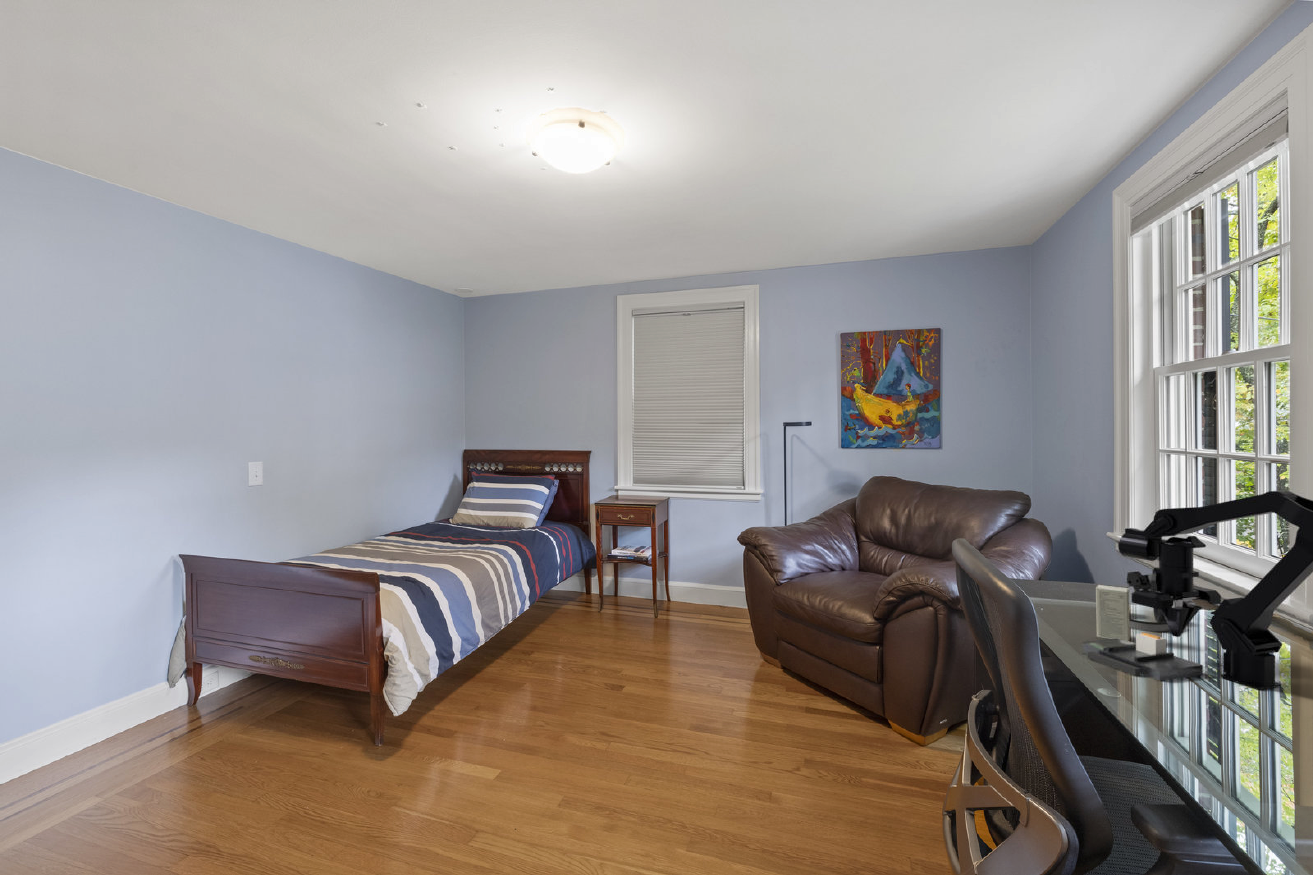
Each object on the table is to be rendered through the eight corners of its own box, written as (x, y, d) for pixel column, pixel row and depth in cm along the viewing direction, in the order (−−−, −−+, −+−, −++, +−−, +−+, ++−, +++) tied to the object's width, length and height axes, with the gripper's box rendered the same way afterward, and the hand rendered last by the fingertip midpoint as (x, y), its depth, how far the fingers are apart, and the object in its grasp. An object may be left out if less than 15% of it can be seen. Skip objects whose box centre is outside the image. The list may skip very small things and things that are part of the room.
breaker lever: (1166, 655, 126) (1166, 637, 126) (1155, 656, 125) (1155, 638, 125) (1146, 648, 130) (1146, 631, 130) (1135, 649, 129) (1136, 632, 129)
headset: (1171, 580, 159) (1176, 605, 144) (1171, 614, 160) (1176, 642, 145) (1108, 573, 168) (1107, 595, 152) (1108, 605, 169) (1107, 631, 153)
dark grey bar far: (1122, 646, 137) (1122, 640, 137) (1089, 650, 134) (1089, 644, 134) (1116, 644, 138) (1116, 638, 138) (1083, 648, 136) (1083, 642, 136)
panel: (1202, 674, 120) (1202, 661, 120) (1159, 680, 117) (1159, 666, 117) (1122, 647, 136) (1122, 635, 136) (1082, 652, 133) (1082, 640, 133)
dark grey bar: (1140, 675, 120) (1140, 668, 120) (1135, 676, 120) (1135, 669, 120) (1092, 657, 130) (1092, 651, 130) (1087, 658, 129) (1087, 652, 129)
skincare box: (1130, 638, 142) (1130, 588, 142) (1128, 643, 139) (1128, 591, 139) (1097, 632, 147) (1098, 583, 147) (1095, 636, 144) (1095, 587, 144)
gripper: (1166, 556, 140) (1166, 622, 139) (1106, 560, 135) (1106, 628, 135) (1222, 566, 129) (1222, 637, 129) (1159, 570, 124) (1159, 644, 124)
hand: (1176, 636), depth 129 cm, fingers closed
